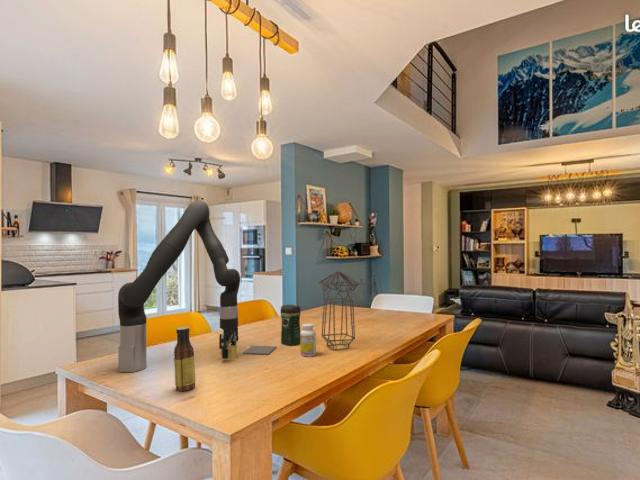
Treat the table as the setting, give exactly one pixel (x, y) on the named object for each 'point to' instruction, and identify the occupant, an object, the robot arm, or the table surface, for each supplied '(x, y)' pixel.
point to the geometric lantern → (342, 306)
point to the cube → (231, 353)
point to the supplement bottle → (308, 340)
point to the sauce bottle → (184, 361)
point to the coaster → (259, 350)
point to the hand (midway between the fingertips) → (229, 355)
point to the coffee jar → (290, 325)
